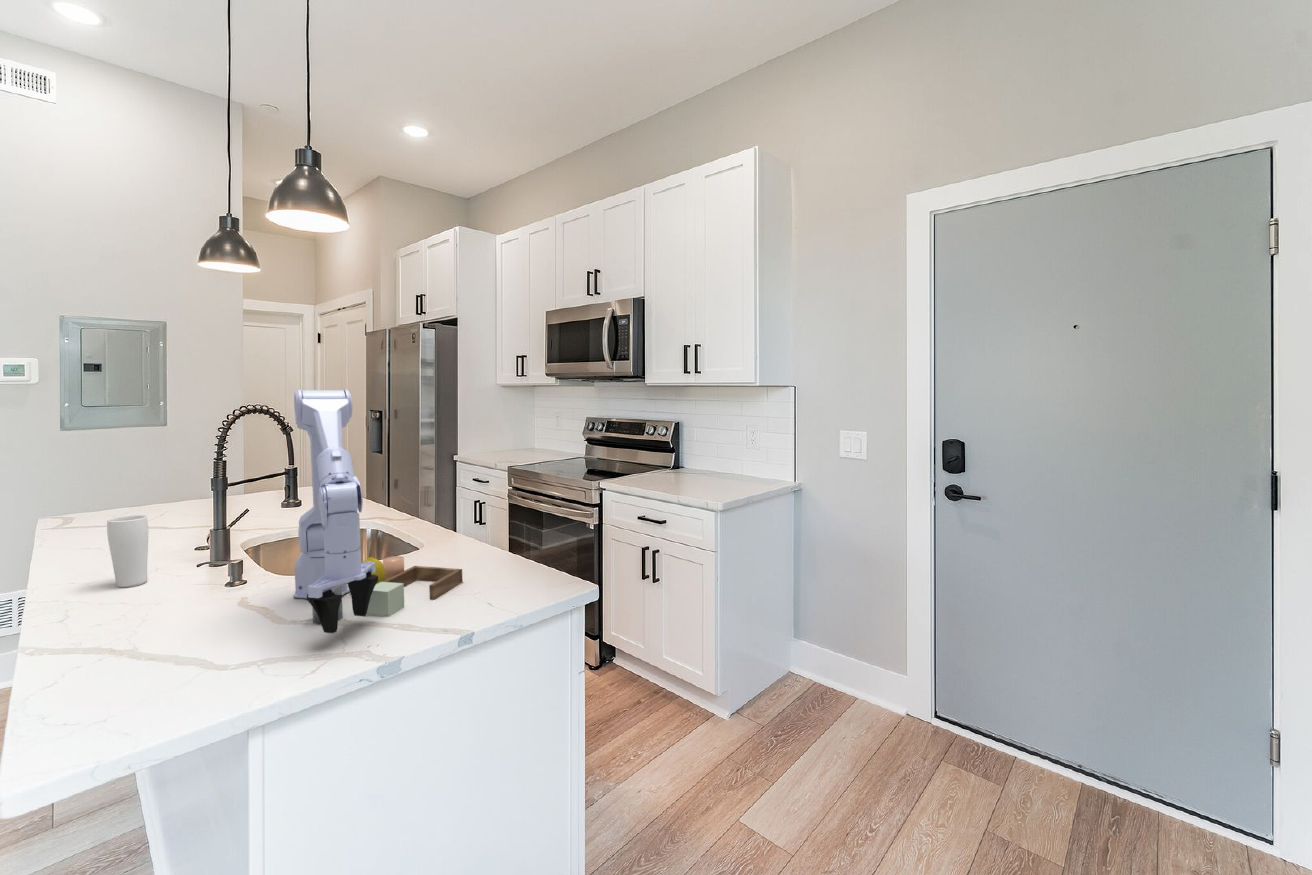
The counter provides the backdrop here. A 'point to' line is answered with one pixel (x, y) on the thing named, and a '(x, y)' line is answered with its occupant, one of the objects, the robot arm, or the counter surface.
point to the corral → (430, 578)
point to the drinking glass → (129, 549)
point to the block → (386, 599)
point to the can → (340, 614)
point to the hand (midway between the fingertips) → (345, 623)
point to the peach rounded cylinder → (393, 566)
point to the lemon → (377, 569)
